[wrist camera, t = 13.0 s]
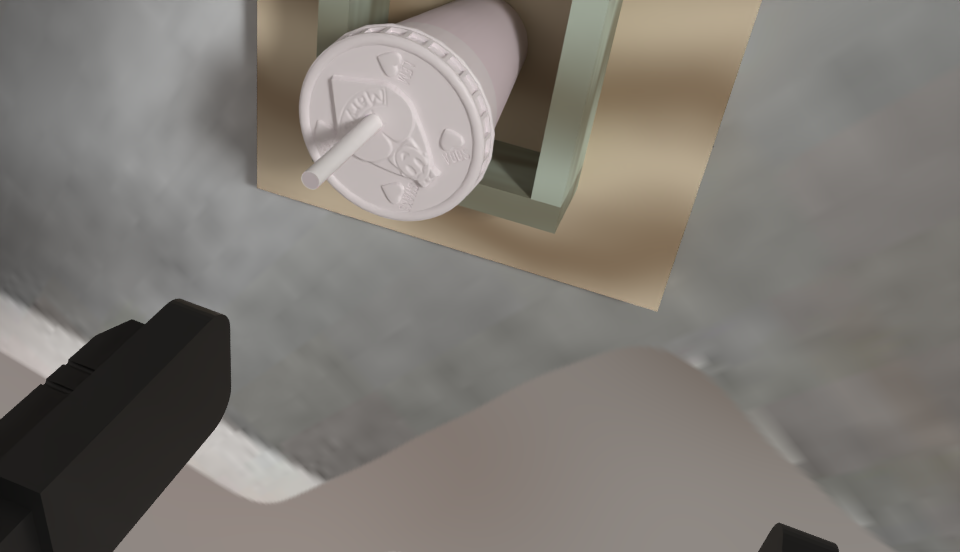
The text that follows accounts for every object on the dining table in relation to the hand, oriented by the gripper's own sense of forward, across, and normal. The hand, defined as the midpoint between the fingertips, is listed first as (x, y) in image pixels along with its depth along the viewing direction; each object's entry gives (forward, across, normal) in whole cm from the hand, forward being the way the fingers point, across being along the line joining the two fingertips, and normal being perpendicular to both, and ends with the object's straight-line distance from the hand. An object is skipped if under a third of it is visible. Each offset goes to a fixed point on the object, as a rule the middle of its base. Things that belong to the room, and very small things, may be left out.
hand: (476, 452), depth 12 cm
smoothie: (+24, +7, +4) cm, 26 cm away
